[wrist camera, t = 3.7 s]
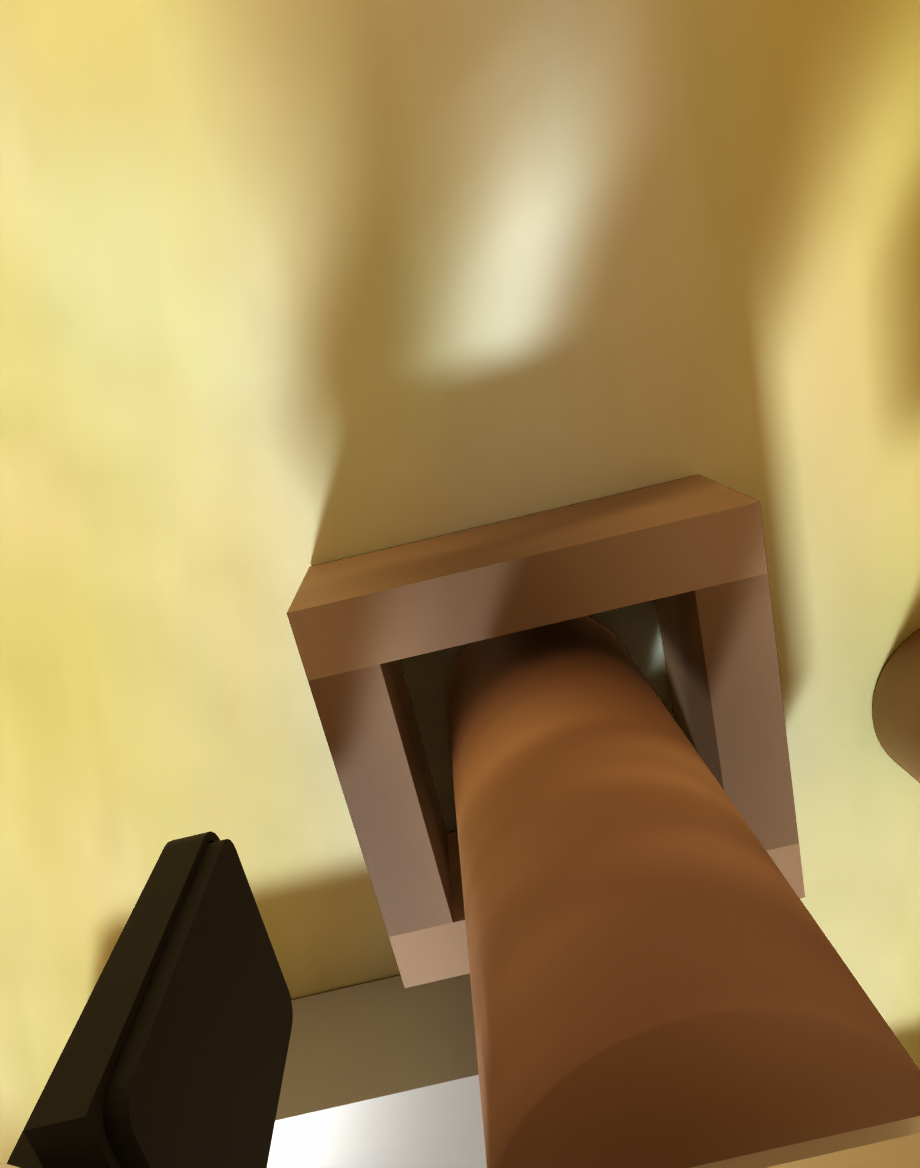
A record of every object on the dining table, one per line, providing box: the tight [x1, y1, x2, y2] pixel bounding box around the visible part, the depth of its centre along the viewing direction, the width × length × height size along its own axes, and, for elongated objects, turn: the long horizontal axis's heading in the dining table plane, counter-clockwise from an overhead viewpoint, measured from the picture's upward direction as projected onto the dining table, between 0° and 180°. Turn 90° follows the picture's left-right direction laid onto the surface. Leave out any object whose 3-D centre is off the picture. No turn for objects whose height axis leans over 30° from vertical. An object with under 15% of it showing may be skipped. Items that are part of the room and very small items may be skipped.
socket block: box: [287, 475, 805, 988], centre depth 13 cm, size 7×7×2 cm
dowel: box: [447, 616, 920, 1168], centre depth 10 cm, size 4×4×9 cm
